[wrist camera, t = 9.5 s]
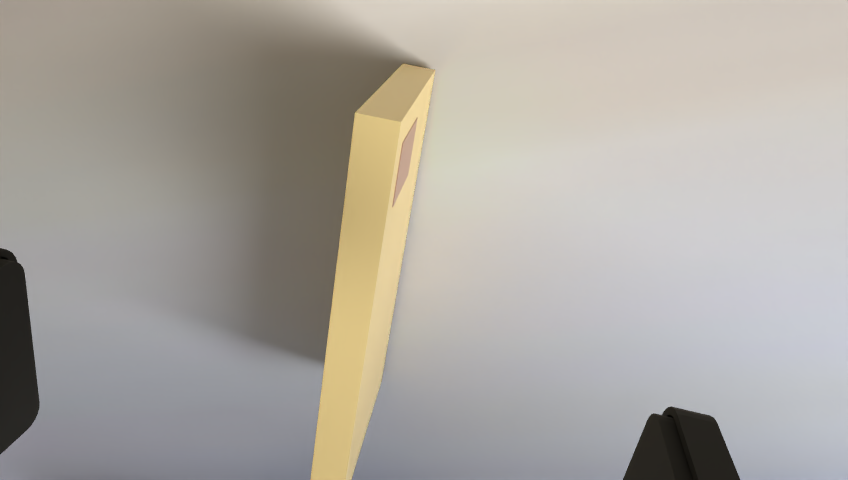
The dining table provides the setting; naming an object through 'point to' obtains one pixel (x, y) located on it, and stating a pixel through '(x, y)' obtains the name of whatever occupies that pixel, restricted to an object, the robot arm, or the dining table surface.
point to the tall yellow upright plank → (369, 263)
